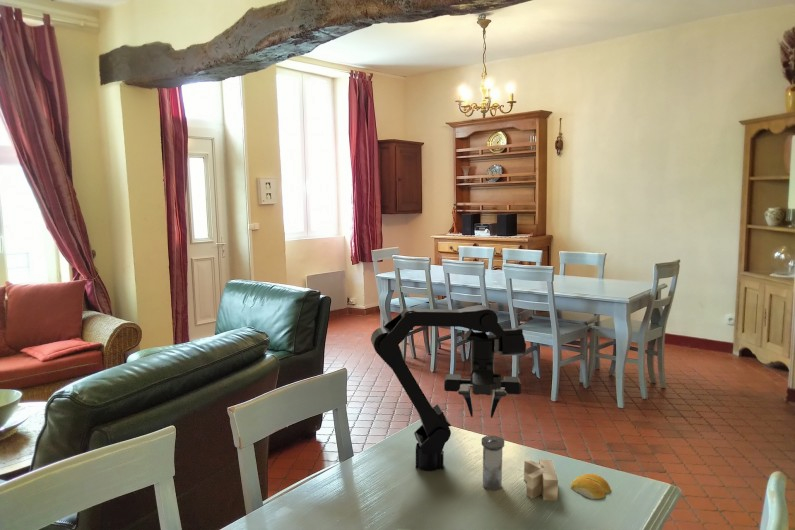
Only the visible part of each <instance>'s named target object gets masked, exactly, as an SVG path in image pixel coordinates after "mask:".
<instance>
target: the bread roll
mask: <svg viewBox="0 0 795 530" xmlns="http://www.w3.org/2000/svg"><path fill="white" fill-rule="evenodd" d="M569 486H570V487H569V489H571V490H573V492H575V493H578V494H580V495H581V496H582V497H585V498H588V499H590V500H591V499H593V500H594V499H596V500H599V499H603V498H605V497H606V494H609V493H611V485H609V483H608V482H607V479H605V478H604V477H602V476H601V475H598V474H594V473H585V474H581V475H579V476H577V477H576V478H575V479H573V480H572V481H571V482H570V484H569Z"/></svg>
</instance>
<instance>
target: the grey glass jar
mask: <svg viewBox="0 0 795 530" xmlns="http://www.w3.org/2000/svg"><path fill="white" fill-rule="evenodd" d="M481 446H482V447H483V448H482V487H483V488H484V489H487V490H488V491H489V490H490V491H498V490H500V489H501V488H502V485H503V483H502V482H503V448H504V447H505V439H504V438H503V437H500V436H497V435H486V436H483V437H482V438H481Z"/></svg>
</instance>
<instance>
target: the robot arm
mask: <svg viewBox="0 0 795 530" xmlns="http://www.w3.org/2000/svg"><path fill="white" fill-rule="evenodd" d="M498 319H499V318H498V315H497V313H496V312H495V311H494V310H492V309H491V308H489V307H487V306H485V305H483V304H477V305H471V306H466V307H464V308H459V309H445V308H444V309H442V308H441V309H436V308H435V309H433V308H432V309H431V308H428V309H427V308H426V309H425V308H411V307H406V308H404V309H403V310H402V311H401V312H400V313H398V314H397V316H395V317H393V318H392V319H391V320H389V321H388V322H387V323H386V324H385V325H383V326H382V327H378V328H376V329H374V331H372V333H371V336H370V342H371V345H372V346H373V349H374V351H375V353H376V354H377V355H378V356H379V357H380V358H381V359H382V361H383V362H384V363H385V364H386V365H387V366H388V367H389V368H390V369H391V370H392V371H393V373H394V375H395V377H396V378H397V380H398V382H399V383H400V385H401V387H402V388H403V390H404V391H405V393H406V395H407V397H408V398H409V400H410V401H411V403H412V405H413V406H414V408H415V409H416V411H417V415H418V418H419V420H420V423H421V425H420V426H419V427H418V428H417V429H416V430H415V431H414V433H413V434H414V437H415V440H416V441H417V443H416V445H415V469H419V470H421V471H425V472H434V471H436V470H438V471H439V470H444V466H445V465H444V464H445V461H444V460H445V455H444V453H445V452H444V447H445V445H446V443H447V442H448V441H449V439H450V438H451V434H452V431H451V428H450V427H451V426H452V424H451V423H450V421H449V420H448V418H447V417H446V415H445V413H444V411H443V410H442V409H441V407H440V405H439V404H438V403H437V404H436V405H435V406H433V405H432V404H431V403H430V402H429V399H428V398H427V397H426V395H425V393H424V392H423V390H422V389H421V387H420V385H419V384H418V382H417V379H416V378H415V377H414V375H413V373H412V371H411V369H410V368H409V367H408V365H407V363H406V361H405V359H404V355H403V352H402V349H401V348H400V344H401V343H402V342H403V341H404V339H405V338H407V336H408V334H409V333H410V332H411V331H412V330H413V328H415V327H454V328H455V327H456V328H457V327H460V328H463V329H468V331H467V332H465V333H464V334H463V335H462V337H463V338H464V339H465V340H466V341H468V342H469V341H471V343H470V344H471V345H470V346H471V347H470V352H471V353H470V378H462V377H461V374H460V373H459V374H454V373H453V374H452V373H447V374H446V375H445V376H444V377H445V378H444V391H445V392H455V393H456V392H457V393H458V395H461V396H462V397H463V398H464V400H465V402H466V405H467V408H468V411H469V415H470V417H471V418H473V416H474V412H473V408H474V407H473V400H472V394H473V395H475V396H479V395H486V396H492V397H491V406H490V419H493V417H494V414H495V412H496V409H497V407H498V404H499V402H500V400H501V399H502V398H503V397H504V398H505V397H507V394H508V395H521V394H522V383H521V379H520V378H519V377H518V376H508V375H507V376H506V375H504V376H503V380H502V374H500V373H495V352H496V353H498V354H499V356H500V357H506V356H507V357H509V356H524V355H525V354H526V351H527V343H526V340H525V336H524V333H523V332H524V329H522V328H521V327H512V328H502V326H501V325H500V323H499V322H498ZM487 333H492V334H487Z"/></svg>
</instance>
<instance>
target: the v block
mask: <svg viewBox="0 0 795 530" xmlns="http://www.w3.org/2000/svg"><path fill="white" fill-rule="evenodd" d="M523 462H524V463H523V467H524V469H523V481H524V482H526V497H528V498H530V499H534V498H536V497H538V496H542V501H552V502H558V494H559V493H558V492H559V491H558V490H559V489H558V488H559V480H558V476H557V473H556V469H555V464H554V461H553V459H547V458H546V459H543V458H539V459H538V462H536V461H535V460H532V459H529V458H528V459H525V460H524V461H523Z"/></svg>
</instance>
